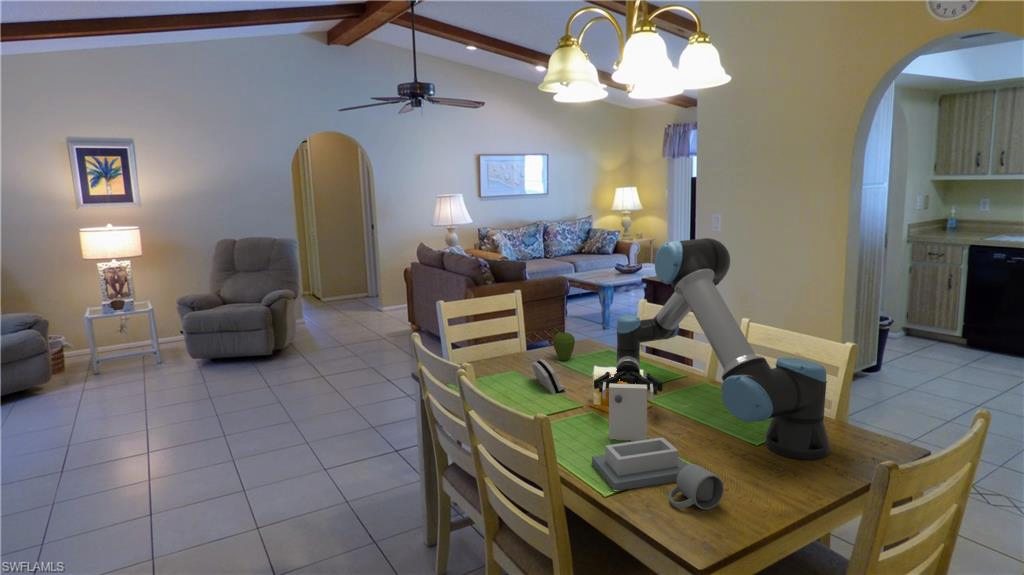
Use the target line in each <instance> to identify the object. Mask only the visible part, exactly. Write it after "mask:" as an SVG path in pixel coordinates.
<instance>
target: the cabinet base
mask: <svg viewBox="0 0 1024 575" xmlns="http://www.w3.org/2000/svg"><path fill="white" fill-rule="evenodd" d="M604 450H605V452H604V453H605V454H601V455H595V456H594V455H593V456H591V465H592V464H593V465H594V466H595V467H596V468H595V467H594V466H593V465H592V466H593V467H594V468H595V470H596V469H597V470H598V471H599V472H600V473H601V474H602V476H603V477H604V478H605V479H606V480H605V479H604V478H603V477H602V478H603V479H604V480H605V482H606V481H607V482H608V483H609V484H610V485H611V487H612V488H613V489H614V490H621V491H626V489H627V490H632V489H633V488H634V489H638V488H639V489H640V488H644V487H651V486H657V485H662V484H669V483H676V477H677V474H678V472H679V470H680V469H681V468H682V467H683V466H685V465H687V463H685V462H684V461H683V460H682V459H681V458H680V457H679V450H678V449H677V448H676V447H675V446H673V444H671V443H670V442H669V441H668V440H667V439H666V438H664V437H663V436H662V437H654V438H650V439H648V438H647V440H641V441H629V442H621V443H614V444H609V445H607V444H605V448H604ZM597 470H596V471H597ZM598 471H597V472H598ZM599 472H598V473H599ZM600 473H599V474H600ZM601 474H600V475H601ZM607 482H606V483H607ZM608 483H607V484H608ZM609 484H608V485H609ZM610 485H609V486H610ZM611 487H610V488H611ZM612 488H611V489H612ZM613 489H612V490H613ZM634 489H633V490H634ZM614 490H613V491H614Z"/></svg>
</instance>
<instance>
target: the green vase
mask: <svg viewBox="0 0 1024 575" xmlns="http://www.w3.org/2000/svg"><path fill="white" fill-rule="evenodd" d="M552 342H553V343H552V344H553V348H554V351H555V353H556V356H557V357H558V358H559V360H560V361H562V362H566V361H568V360H569V359H570V358H571V356H572V355H573V352H574V348H575V342H576V338H575V337H574V335H573V334H572V333H570V332H564V331H563V332H558V333H556V334H555V335H554V336H553V339H552Z"/></svg>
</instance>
